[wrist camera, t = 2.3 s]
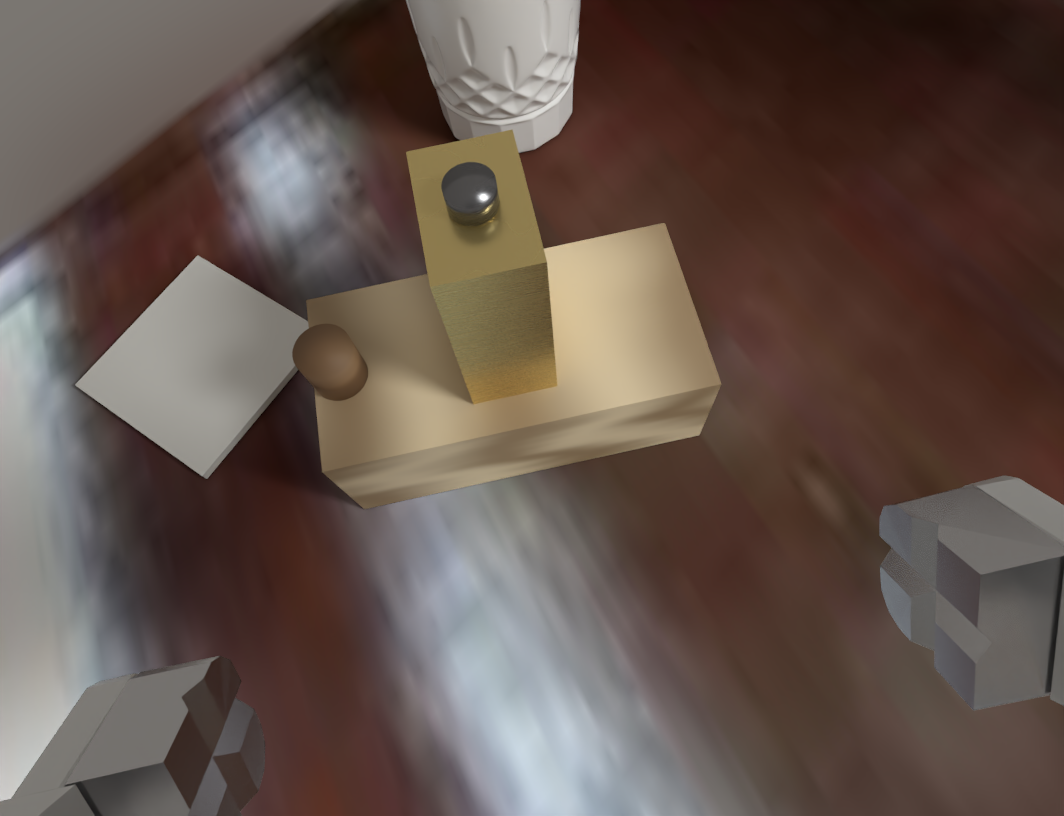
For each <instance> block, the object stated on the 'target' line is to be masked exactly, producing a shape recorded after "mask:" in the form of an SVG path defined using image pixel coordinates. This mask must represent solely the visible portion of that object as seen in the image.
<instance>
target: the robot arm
mask: <svg viewBox="0 0 1064 816" xmlns="http://www.w3.org/2000/svg"><path fill="white" fill-rule="evenodd" d="M880 536H881V537H882V538H883V539H884V540H885V541H886V542H887V543H888V544H889V545H890V546H891V547H892V549H891V550H890V552H889V553H888V555H887V556H886V558H885V559H884V561H883V562H882V564H881V565H880V574H881V589H882V592H883V595H884V598H885V601H886V604H887V607H888V610H889V612H890V614H891V615H892V617H893V619H894V620H895V622H896V624H897V626H898V627H899V628H900V629H901V630H902V632H903V633H904V634H905V635H906V636H907V637H908V638H909V640H910V641H912V642H914V643H917V644H919V645H922V646H924V647H926V648H929V649H931V650H934V651H935V669H936V670H937V671H938V672H939V673H940V674H941V675H942V676H943V677H944V679H945V680H946V681H947V682H948V683H949V684H950V685H951V686H952V687H953V688H954V689H955V691H956V692H957V693H958V694H959V695H960V696H961V697H962V698H963V699H964V700H965V702H966V703H967V704H968V705H969V706H970V707H971V708H972V709H973V710H978V709H983V708H988V707H993V706H998V705H1003V704H1008V703H1013V702H1018V701H1023V700H1028V699H1033V698H1038V697H1042V696H1047V695H1051V696H1050V699H1051V700H1053V701H1055V702H1057V703H1059V704H1061V705H1063V706H1064V505H1062V504H1061V503H1059V502H1057V501H1056V500H1054V499H1052V498H1051V497H1049V496H1047V495H1046V494H1044V493H1042V492H1041V491H1039V490H1037V489H1036V488H1034V487H1032V486H1031V485H1029V484H1027V483H1026V482H1024V481H1022V480H1021V479H1019V478H1015V477H1010V476H1000V477H996V478H993V479H989V480H985V481H981V482H977V483H973V484H969V485H966V486H964V487H962V488H958V489H954V490H950V491H946V492H941V493H937V494H933V495H929V496H925V497H920V498H916V499H912V500H908V501H903V502H899V503H895V504H891V505H887V506H884V508H883V510H882V513H881V516H880ZM240 684H241V679H240V677H239V675H238V673H237V671H236V670H235V668H234V666H233V664H232V662H231V660H229V659H227V658H224V657H222V656H217V657H212V658H207V659H202V660H197V661H193V662H188V663H183V664H178V665H173V666H168V667H163V668H158V669H154V670H149V671H144V672H140V673H139V674H130V675H125V676H121V677H117V678H112V679H108V680H103V681H100V682H98V683H96V684H94V685H92V686H90V687H88V688H87V689H86V690H85V692H84V693H83V695H82V696H81V697H80V699H79V700H78V702H77V703H76V705H75V706H74V708H73V709H72V711H71V712H70V714H69V715H68V716H67V718H66V719H65V721H64V722H63V724H62V725H61V727H60V728H59V730H58V731H57V733H56V734H55V735H54V737H53V738H52V740H51V741H50V743H49V744H48V746H47V747H46V749H45V750H44V752H43V753H42V754H41V756H40V757H39V759H38V760H37V762H36V763H35V765H34V766H33V768H32V769H31V771H30V772H29V773H28V775H27V776H26V778H25V779H24V781H23V782H22V784H21V785H20V787H19V788H18V789H17V791H16V792H15V794H14V795H13V797H12V798H11V799H9V800H5V801H1V802H0V816H242V815H241V813H240V811H241V810H242V809H243V808H244V807H245V805H246V804H247V803H248V802H249V801H250V800H251V799H252V798H253V797H254V796H255V794H256V793H257V792H258V790H259V787H260V783H261V780H262V776H263V772H264V765H265V741H264V736H263V731H262V727H261V723H260V721H259V719H258V716H257V714H256V712H255V710H254V709H253V708H252V707H250V706H248V705H247V704H245V703H243V702H241V701H240V700H238V699H236V698H235V697H236V694H237V692H238V689H239V686H240Z"/></svg>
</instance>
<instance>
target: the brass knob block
mask: <svg viewBox="0 0 1064 816" xmlns="http://www.w3.org/2000/svg"><path fill="white" fill-rule="evenodd" d="M406 154H407V160H408V165H409V171H410V177H411V182H412V188H413V194H414V199H415V205H416V210H417V216H418V222H419V227H420V233H421V239H422V244H423V250H424V256H425V261H426V267H427V273H428V278H429V284H430V288H431V291H432V294H433V296H434V299H435V302H436V305H437V307H438V310H439V313H440V315H441V318H442V321H443V323H444V326H445V329H446V331H447V334H448V337H449V340H450V342H451V345H452V348H453V350H454V353H455V356H456V358H457V361H458V364H459V366H460V369H461V372H462V375H463V377H464V380H465V383H466V385H467V388H468V391H469V393H470V396H471V399H472V402H473V404H478V403H483V402H487V401H492V400H497V399H501V398H506V397H510V396H515V395H519V394H524V393H529V392H533V391H538V390H542V389H547V388H551V387H556V386H557V374H556V362H555V351H554V339H553V327H552V315H551V303H550V291H549V279H548V268H547V260H546V256H545V252H544V248H543V245H542V241H541V237H540V233H539V229H538V225H537V222H536V218H535V214H534V210H533V206H532V202H531V199H530V195H529V191H528V187H527V183H526V179H525V176H524V172H523V168H522V164H521V160H520V156H519V153H518V149H517V145H516V141H515V137H514V133H513V130H507V131H503V132H498V133H493V134H488V135H484V136H479V137H474V138H470V139H465V140H460V141H456V142H451V143H446V144H441V145H437V146H432V147H427V148H423V149H418V150H413V151H408V152H406Z"/></svg>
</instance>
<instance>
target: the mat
mask: <svg viewBox="0 0 1064 816" xmlns="http://www.w3.org/2000/svg"><path fill="white" fill-rule="evenodd" d="M307 329H309V326H308V321H306V320H305V319H303V318H301V317H300V316H298V315H296V314H295V313H293V312H291V311H290V310H288V309H286V308H285V307H283V306H281V305H280V304H278V303H276V302H275V301H273V300H271V299H270V298H268V297H266V296H265V295H263V294H261V293H260V292H258V291H256V290H255V289H253V288H251V287H250V286H248V285H246V284H245V283H243V282H241V281H240V280H238V279H236V278H235V277H233V276H231V275H230V274H228V273H226V272H225V271H223V270H221V269H220V268H218V267H216V266H215V265H213V264H211V263H210V262H208V261H206V260H205V259H203V258H201V257H200V256H197V257H196V258H195V259H194V260H193V261H192V262H191V263H190V264H189V265H188V266H187V267H186V268H185V269H184V270H183V271H182V272H181V274H180V275H179V276H178V277H177V278H176V279H175V280H174V281H173V282H172V283H171V284H170V285H169V286H168V287H167V288H166V289H165V290H164V291H163V293H162V294H161V295H160V296H159V297H158V298H157V299H156V300H155V301H154V302H153V303H152V304H151V305H150V306H149V307H148V308H147V309H146V310H145V312H144V313H143V314H142V315H141V316H140V317H139V318H138V319H137V320H136V321H135V322H134V323H133V324H132V325H131V326H130V327H129V328H128V329H127V331H126V332H125V333H124V334H123V335H122V336H121V337H120V338H119V339H118V340H117V341H116V342H115V343H114V344H113V345H112V346H111V347H110V348H109V350H108V351H107V352H106V353H105V354H104V355H103V356H102V357H101V358H100V359H99V360H98V361H97V362H96V363H95V364H94V365H93V366H92V367H91V369H90V370H89V371H88V372H87V373H86V374H85V375H84V376H83V377H82V378H81V379H80V380H79V381H78V382H77V383H76V384H75V386H77V387H78V388H80V389H81V390H82V391H84V392H85V393H87V394H88V395H89V396H91V397H92V398H94V399H95V400H96V401H98V402H99V403H101V404H102V405H103V406H105V407H106V408H108V409H109V410H110V411H112V412H113V413H115V414H116V415H117V416H119V417H120V418H122V419H123V420H124V421H126V422H127V423H128V424H130V425H131V426H133V427H134V428H135V429H137V430H138V431H140V432H141V433H142V434H144V435H145V436H147V437H148V438H149V439H151V440H152V441H154V442H155V443H156V444H158V445H159V446H161V447H162V448H163V449H165V450H166V451H168V452H169V453H170V454H172V455H173V456H175V457H176V458H177V459H179V460H180V461H182V462H183V463H184V464H186V465H187V466H189V467H190V468H191V469H193V470H194V471H196V472H197V473H198V474H200V475H201V476H203V477H204V478H206V479H208V477H209V476H210V475H211V474H212V473H213V471H214V470H215V469H216V468H217V467H218V465H219V464H220V463H221V462H222V461H223V459H224V458H225V457H226V456H227V455H228V453H229V452H230V451H231V450H232V449H233V447H234V446H235V445H236V444H237V443H238V441H239V440H240V439H241V438H242V437H243V435H244V434H245V433H246V432H247V431H248V429H249V428H250V427H251V426H252V425H253V423H254V422H255V421H256V420H257V419H258V418H259V416H260V415H261V414H262V413H263V412H264V410H265V409H266V408H267V407H268V406H269V404H270V403H271V402H272V401H273V400H274V398H275V397H276V396H277V395H278V394H279V392H280V391H281V390H282V389H283V388H284V386H285V385H286V384H287V383H288V382H289V380H290V379H291V378H292V377H293V376H294V374H295V373H296V372H297V371H298V369H297V367H296V366H295V364H294V361H293V357H292V351H293V347H294V344H295V342H296V340H297V339H298V337H299V336H300V335H301V334H302V333H303V332H304V331H306V330H307Z"/></svg>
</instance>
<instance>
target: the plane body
mask: <svg viewBox="0 0 1064 816" xmlns="http://www.w3.org/2000/svg"><path fill="white" fill-rule="evenodd" d="M544 252H545V256H546V260H547V268H548V279H549V291H550V303H551V315H552V327H553V339H554V351H555V362H556V374H557V386H556V387H551V388H547V389H542V390H538V391H533V392H529V393H524V394H519V395H515V396H510V397H506V398H501V399H497V400H492V401H487V402H483V403H478V404H473V402H472V399H471V396H470V393H469V391H468V388H467V385H466V383H465V380H464V377H463V375H462V372H461V369H460V366H459V364H458V361H457V358H456V356H455V353H454V350H453V348H452V345H451V342H450V340H449V337H448V334H447V331H446V329H445V326H444V323H443V321H442V318H441V315H440V313H439V310H438V307H437V305H436V302H435V299H434V296H433V294H432V291H431V288H430V284H429V278H428V274H425V275H421V276H416V277H411V278H407V279H402V280H397V281H393V282H388V283H383V284H379V285H374V286H370V287H365V288H360V289H356V290H351V291H346V292H342V293H337V294H332V295H328V296H323V297H319V298H314V299H309V300H306V304H307V315H308V326H309V329H307V330H306V331H304V332H303V333H302V334H301V335H300V336H299V337H298V339H297V340H296V342H295V344H294V347H293V351H292V357H293V361H294V364H295V366H296V367H297V369H298V370H299V371H300V372H301V373H302V374H303V376H304V377H305V378H306V379H307V380H308V381H309V382H310V384H311V385H312V386H313V387H314V391H315V402H316V412H317V423H318V434H319V445H320V456H321V466H322V472H323V473H324V474H325V475H326V476H327V477H328V478H329V479H331V480H332V481H333V482H334V483H335V484H336V485H337V486H339V487H340V488H341V489H342V490H343V491H344V492H345V493H346V494H348V495H349V496H350V497H351V498H352V499H353V500H354V501H356V502H357V503H358V504H359V505H360V506H361V507H362V508H364V509H368V508H372V507H377V506H381V505H386V504H390V503H395V502H399V501H404V500H408V499H413V498H418V497H422V496H427V495H431V494H436V493H440V492H445V491H449V490H454V489H458V488H463V487H467V486H472V485H476V484H481V483H485V482H490V481H494V480H499V479H503V478H508V477H512V476H517V475H521V474H526V473H530V472H535V471H539V470H544V469H549V468H553V467H558V466H562V465H567V464H571V463H576V462H580V461H585V460H589V459H594V458H598V457H603V456H607V455H612V454H616V453H621V452H625V451H630V450H634V449H639V448H643V447H648V446H652V445H657V444H661V443H666V442H670V441H675V440H680V439H684V438H689V437H693V436H698V435H700V432H701V430H702V428H703V426H704V423H705V421H706V419H707V416H708V414H709V412H710V409H711V407H712V405H713V402H714V400H715V398H716V395H717V393H718V391H719V388H720V386H721V382H720V379H719V376H718V373H717V370H716V367H715V364H714V362H713V359H712V356H711V353H710V350H709V347H708V345H707V342H706V339H705V336H704V333H703V330H702V328H701V325H700V322H699V319H698V316H697V313H696V310H695V308H694V305H693V302H692V299H691V296H690V293H689V291H688V288H687V285H686V282H685V279H684V276H683V273H682V271H681V268H680V265H679V262H678V259H677V256H676V254H675V251H674V248H673V245H672V242H671V239H670V236H669V234H668V231H667V228H666V225H665V223H662V224H657V225H652V226H648V227H643V228H638V229H634V230H629V231H624V232H620V233H615V234H611V235H606V236H601V237H597V238H592V239H587V240H583V241H578V242H573V243H569V244H564V245H560V246H555V247H550V248H546V249H544Z"/></svg>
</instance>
